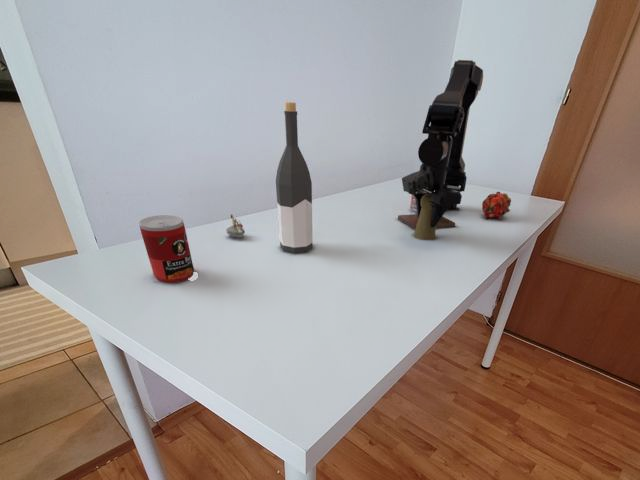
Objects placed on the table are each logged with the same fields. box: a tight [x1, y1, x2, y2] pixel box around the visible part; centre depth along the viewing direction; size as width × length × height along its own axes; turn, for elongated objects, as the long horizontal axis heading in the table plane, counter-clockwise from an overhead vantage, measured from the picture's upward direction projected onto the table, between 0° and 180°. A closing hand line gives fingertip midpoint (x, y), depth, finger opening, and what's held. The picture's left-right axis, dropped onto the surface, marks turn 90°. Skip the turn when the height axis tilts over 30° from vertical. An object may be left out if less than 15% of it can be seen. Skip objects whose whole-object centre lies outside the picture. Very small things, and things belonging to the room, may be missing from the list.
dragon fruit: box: [481, 191, 512, 220], centre depth 119 cm, size 8×8×12 cm
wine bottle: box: [275, 101, 314, 255], centre depth 81 cm, size 8×8×30 cm
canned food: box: [138, 214, 195, 284], centre depth 71 cm, size 8×8×11 cm
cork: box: [413, 194, 437, 241], centre depth 99 cm, size 6×6×11 cm
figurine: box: [225, 213, 246, 238], centre depth 92 cm, size 5×4×6 cm
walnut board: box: [397, 213, 456, 231], centre depth 112 cm, size 14×11×1 cm
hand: (426, 223), depth 100 cm, fingers closed on cork, 6 cm apart
